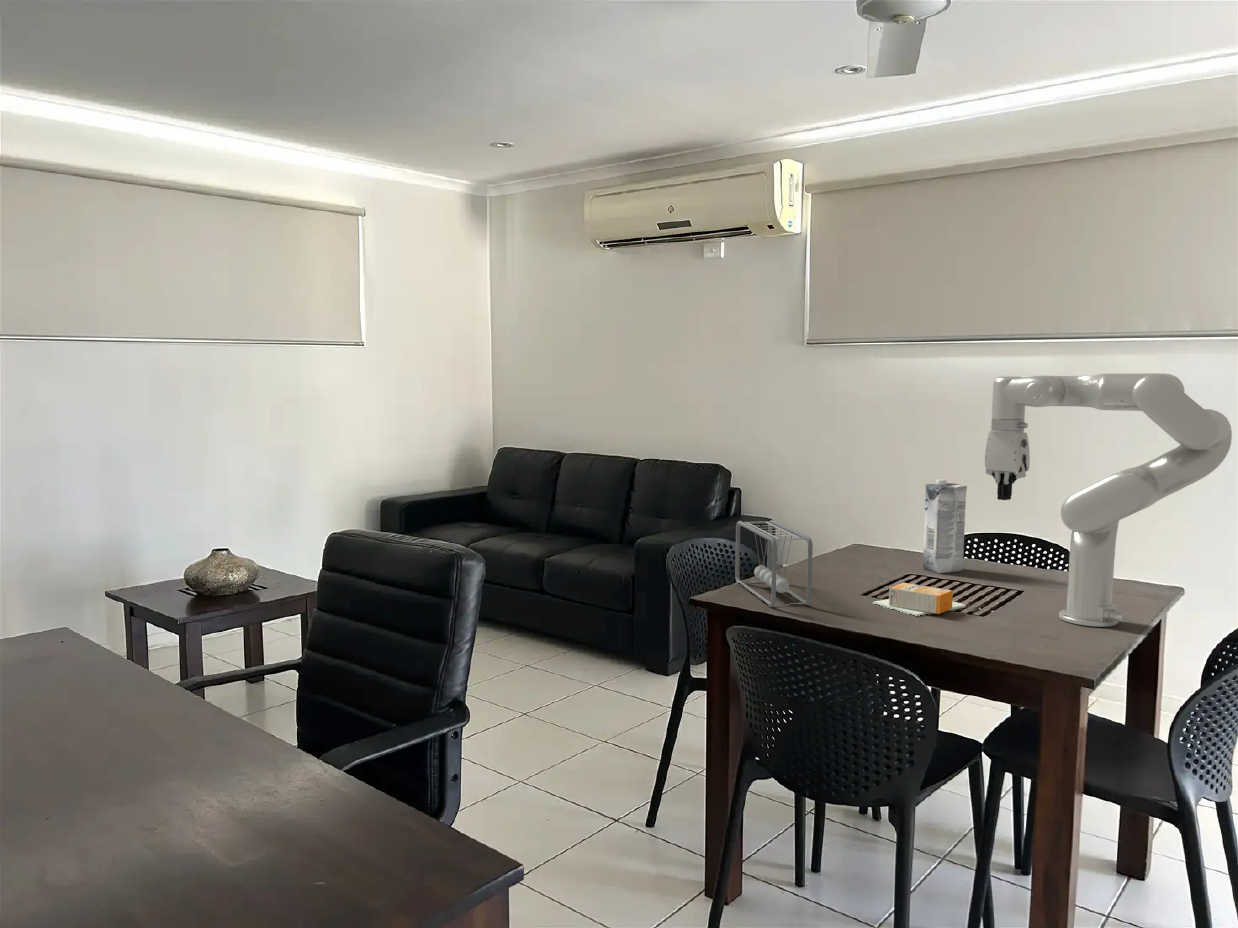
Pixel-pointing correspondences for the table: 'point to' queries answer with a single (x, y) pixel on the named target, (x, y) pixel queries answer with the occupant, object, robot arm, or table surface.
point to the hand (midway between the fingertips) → (1004, 499)
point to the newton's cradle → (773, 560)
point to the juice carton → (944, 527)
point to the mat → (910, 611)
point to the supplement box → (920, 598)
